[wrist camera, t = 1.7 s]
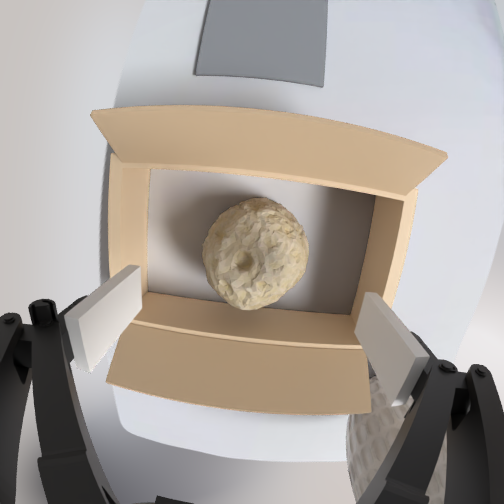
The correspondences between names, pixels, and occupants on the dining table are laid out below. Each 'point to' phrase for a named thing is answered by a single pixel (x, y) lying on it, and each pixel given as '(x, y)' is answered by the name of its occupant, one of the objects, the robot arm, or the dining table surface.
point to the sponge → (255, 253)
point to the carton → (263, 319)
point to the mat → (265, 40)
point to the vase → (383, 444)
